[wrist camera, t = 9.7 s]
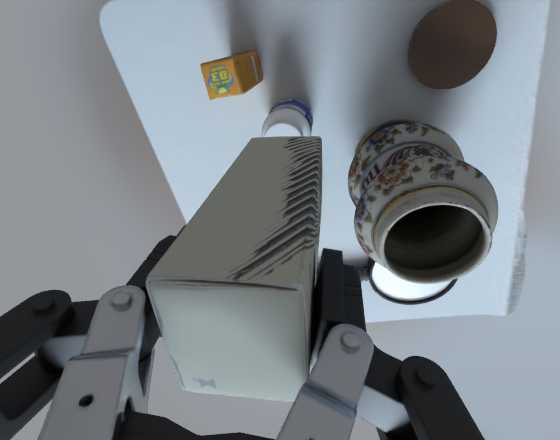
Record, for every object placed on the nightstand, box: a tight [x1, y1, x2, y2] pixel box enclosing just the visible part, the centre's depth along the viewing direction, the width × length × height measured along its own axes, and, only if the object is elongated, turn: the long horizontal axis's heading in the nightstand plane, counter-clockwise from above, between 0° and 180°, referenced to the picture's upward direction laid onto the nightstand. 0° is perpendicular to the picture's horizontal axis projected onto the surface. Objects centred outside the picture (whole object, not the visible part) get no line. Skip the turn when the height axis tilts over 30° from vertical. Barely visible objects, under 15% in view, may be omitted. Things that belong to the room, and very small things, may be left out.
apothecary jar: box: [348, 120, 498, 284], centre depth 33 cm, size 12×12×18 cm
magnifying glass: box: [316, 258, 458, 305], centre depth 49 cm, size 12×24×2 cm, turn 102°
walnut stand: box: [408, 0, 497, 89], centre depth 33 cm, size 8×8×1 cm
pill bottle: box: [262, 98, 313, 137], centre depth 36 cm, size 5×5×9 cm
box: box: [145, 136, 322, 402], centre depth 15 cm, size 5×4×13 cm
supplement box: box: [201, 51, 263, 100], centre depth 33 cm, size 3×3×10 cm
